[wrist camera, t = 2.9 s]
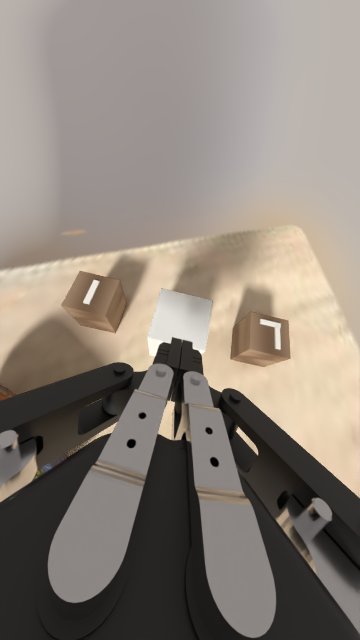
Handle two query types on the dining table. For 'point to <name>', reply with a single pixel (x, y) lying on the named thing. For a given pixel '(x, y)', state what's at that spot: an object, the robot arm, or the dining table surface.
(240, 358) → the walnut block
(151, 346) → the plain block
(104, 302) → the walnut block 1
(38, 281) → the dining table surface
